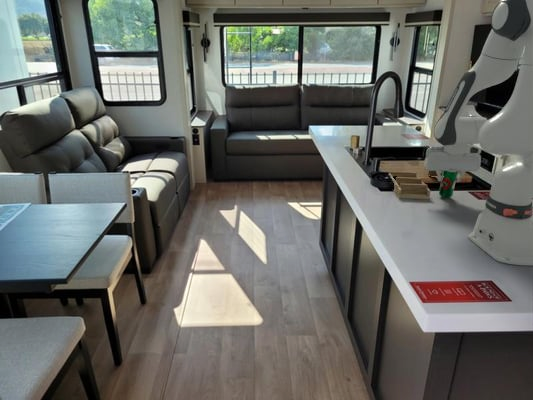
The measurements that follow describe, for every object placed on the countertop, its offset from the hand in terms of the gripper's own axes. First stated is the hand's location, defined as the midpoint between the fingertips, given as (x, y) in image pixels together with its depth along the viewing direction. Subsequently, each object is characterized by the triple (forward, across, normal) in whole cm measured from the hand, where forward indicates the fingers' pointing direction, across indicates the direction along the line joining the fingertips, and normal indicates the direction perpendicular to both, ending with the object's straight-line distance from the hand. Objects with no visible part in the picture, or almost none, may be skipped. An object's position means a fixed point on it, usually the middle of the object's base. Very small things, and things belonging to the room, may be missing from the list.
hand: (448, 181), depth 152 cm
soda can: (+6, 0, 0) cm, 7 cm away
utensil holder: (+6, +4, +26) cm, 27 cm away
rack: (+7, -13, +8) cm, 17 cm away
